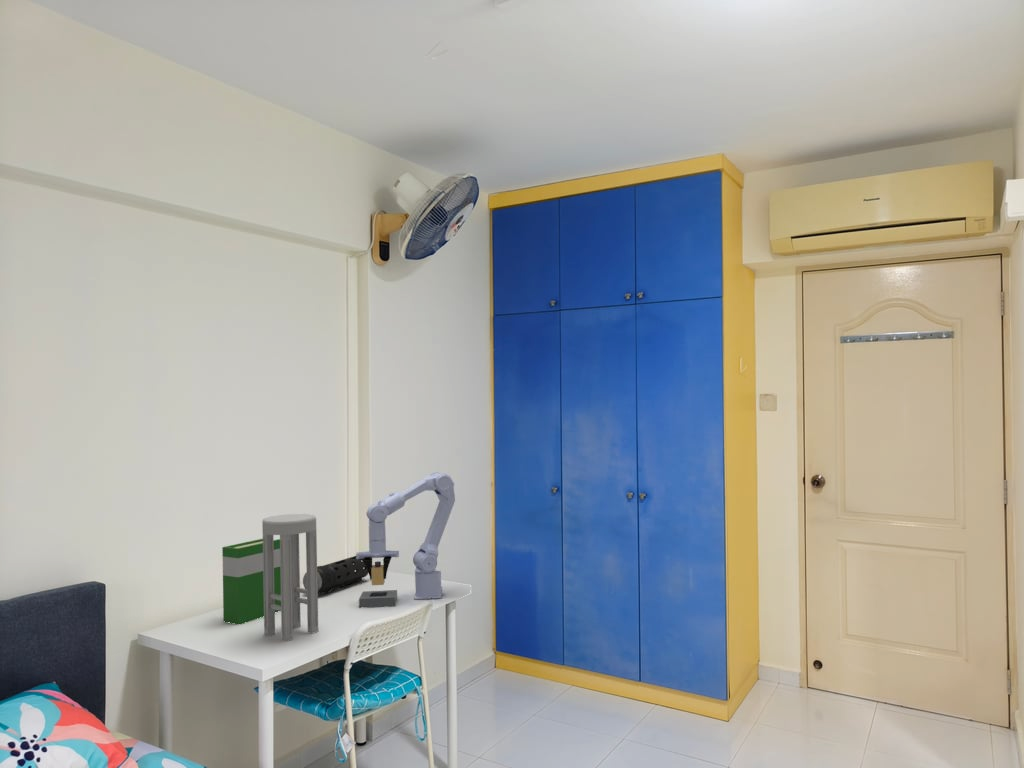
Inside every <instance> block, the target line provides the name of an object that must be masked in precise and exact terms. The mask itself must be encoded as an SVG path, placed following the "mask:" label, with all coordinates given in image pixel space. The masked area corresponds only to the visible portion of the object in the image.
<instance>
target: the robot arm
mask: <svg viewBox="0 0 1024 768" xmlns="http://www.w3.org/2000/svg"><path fill="white" fill-rule="evenodd" d="M454 489H455V482H454V481H453V479H452V477H451V475H449V474H447V473H441V472H432V473H431V474H430V475H426V476H425V477H424V478H422V479H420V480H418V482H416V483H414V484H413V485H411V486H410V487H408V488H407V489H405V490H403V491H401V492H391V493H389V494H388V496H387V497H386V498H384V499H382V500H378V501H377V503H376V504H372V505H370V506H369V507H368V509H367V510H366V513H365V514H366V517H367V519H368V551H362V552H356V554H355V556H356V559H360V558H364V563H365V565H366V567H367V570H368V572H369V573H368V575H369V580H371V581H372V573H371V568H372V566H373V559H376V558H378V559H379V558H380V559H382V558H383V559H382V561H383V564H382V565H384V579H385V580H387V573H388V569H389V566H390V563H391V560H392V558H399V557H400V550H387V545H386V544H387V543H386V541H387V539H386V538H387V537H386V536H387V535H386V533H387V532H386V519H387V517H388V516H391V515H392V514H393V513H395V512H397V511H399V510H400V509H402V508H403V507H404V506H405V504H406V502H407V501H408V500H411V499H413V498H414V497H416V496H419V494H421V493H424V492H425V491H433V492H434V493H435V494H436V496H437V498H438V500H439V502H438V505H437V507H436V509H435V513H434V514H433V518H432V521H431V523H430V526H429V528H428V531H427V533H426V536H425V539H424V541H423V542H422V543H421V544H420V546H419V548H418V550H417V551H416V552H415V553H414V555H413V557H412V564H414V566H415V569H414V582H415V586H414V587H415V593H414V596H413V599H414V600H429V599H430V600H431V598H432V599H441V598H442V593H443V586H442V571H441V570H436V568H437V566H438V555H439V545H440V543H441V539H442V536H443V535H444V531H445V529H446V526H447V524H448V521H449V518H450V515H451V513H452V509H453V507H454V505H455V502H456V495H455V490H454Z"/></svg>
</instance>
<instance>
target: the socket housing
mask: <svg viewBox="0 0 1024 768" xmlns="http://www.w3.org/2000/svg"><path fill="white" fill-rule="evenodd" d="M397 601H398V589H391V590H389V589H388V590H371V591H370V590H369V591H368V590H367V591H362V592H361V594H360V596H359V598H358V605H359V606H358V608H359V607H360V608H361V607H367V608H382V607H384V606H388V607H395V606H396V605H397ZM360 608H359V609H360ZM384 608H385V607H384Z"/></svg>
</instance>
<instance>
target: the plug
mask: <svg viewBox="0 0 1024 768" xmlns="http://www.w3.org/2000/svg"><path fill="white" fill-rule="evenodd" d="M371 573H372V580H371V586H384V585H385V583H386V582H385V580H386V579H384V564H382V563H381V561H375V562H374V564H372V568H371Z"/></svg>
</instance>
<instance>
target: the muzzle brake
mask: <svg viewBox="0 0 1024 768" xmlns="http://www.w3.org/2000/svg"><path fill="white" fill-rule="evenodd" d="M368 575H369V572H368V570H367V567H366V565H365V563H364V558H360V559H356V555H353V556H350V557H347V558H343V559H341V560H337V561H333V562H330V563H327V564H323V565H317V585H318V595H319V594H326V593H325V592H328V591H330V592H332V589H333V590H334V589H337V588H343V586H348V584H349V585H351V583H352V584H354V582H355V583H357V582H360V581H362V579H363V578H365V577H367V576H368ZM359 580H360V581H359ZM302 584H303V589H307V571H306V572H305V573H304V575H303V578H302ZM322 592H323V593H322ZM328 593H329V592H328Z"/></svg>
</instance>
